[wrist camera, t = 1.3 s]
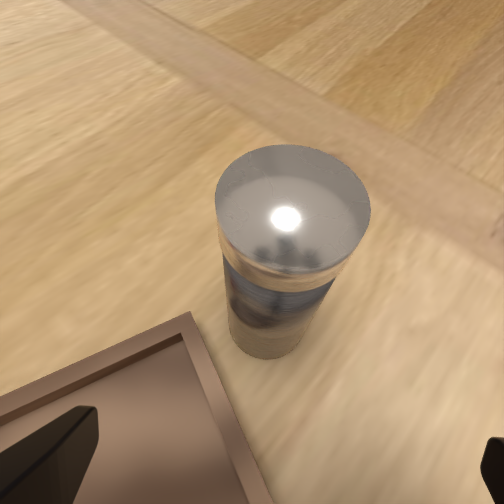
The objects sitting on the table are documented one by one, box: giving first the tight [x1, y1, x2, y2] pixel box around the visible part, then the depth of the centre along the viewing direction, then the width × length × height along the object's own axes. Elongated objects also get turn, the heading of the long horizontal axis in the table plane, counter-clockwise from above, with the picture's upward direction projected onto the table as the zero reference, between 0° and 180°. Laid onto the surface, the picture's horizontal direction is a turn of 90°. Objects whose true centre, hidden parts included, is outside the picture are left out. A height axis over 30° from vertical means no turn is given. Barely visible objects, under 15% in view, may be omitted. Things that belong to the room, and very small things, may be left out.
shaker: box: [215, 145, 371, 359], centre depth 17 cm, size 5×5×13 cm
